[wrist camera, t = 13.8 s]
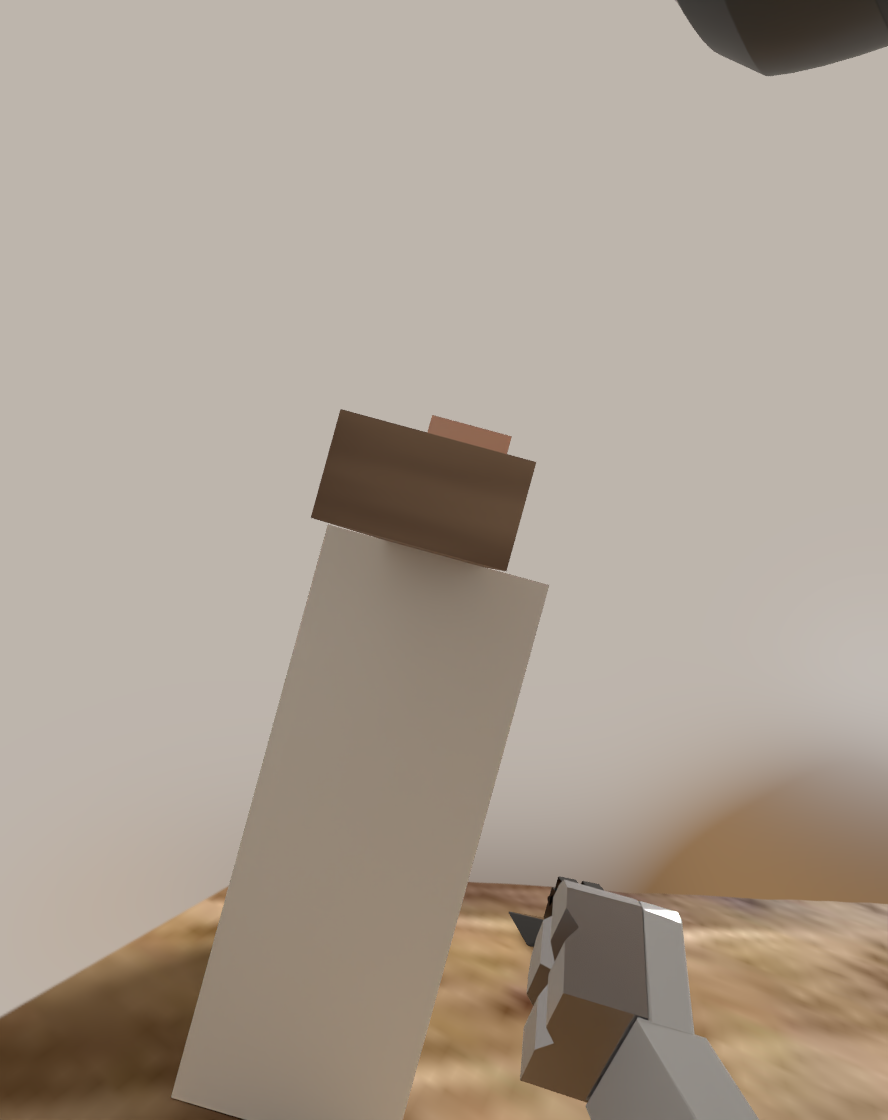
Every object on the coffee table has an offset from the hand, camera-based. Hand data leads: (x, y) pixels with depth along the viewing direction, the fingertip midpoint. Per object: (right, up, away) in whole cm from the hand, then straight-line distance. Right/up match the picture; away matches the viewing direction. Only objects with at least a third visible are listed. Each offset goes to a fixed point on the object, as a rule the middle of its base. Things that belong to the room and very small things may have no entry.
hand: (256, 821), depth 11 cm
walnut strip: (+2, +4, +20) cm, 21 cm away
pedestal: (-4, -21, +33) cm, 40 cm away
